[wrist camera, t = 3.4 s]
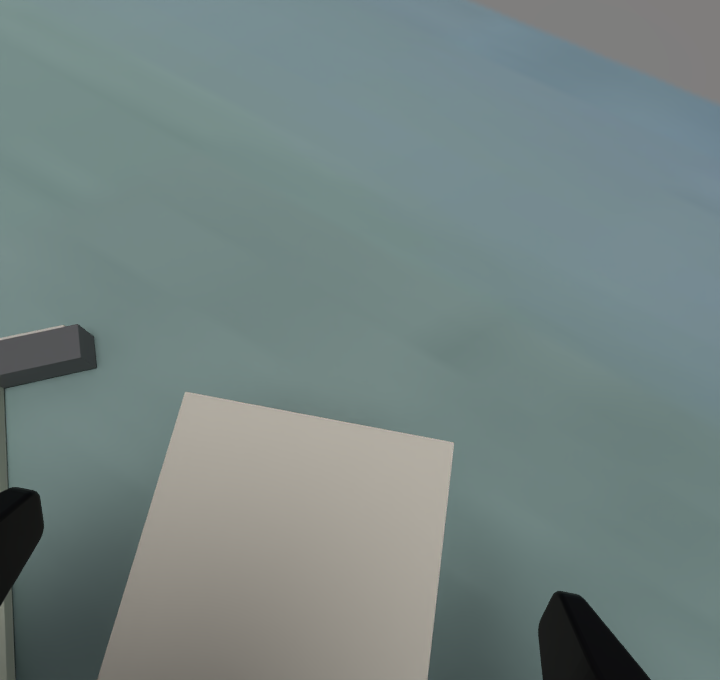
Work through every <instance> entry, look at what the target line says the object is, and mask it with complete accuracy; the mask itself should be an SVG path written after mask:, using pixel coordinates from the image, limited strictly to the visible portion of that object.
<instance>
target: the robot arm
mask: <svg viewBox="0 0 720 680" xmlns="http://www.w3.org/2000/svg"><path fill="white" fill-rule="evenodd" d="M43 529H44V521H43V514H42V507H41V500H40V495H39V494H38V493H37V492H36V491H34V490H29V489H24V488H19V487H12V488H9V489H6V490H4V491H2V492H0V606H1V604H2V603H3V601H4V599H5V598H6V596H7V594H8V593H9V591H10V589H11V588H12V586H13V584H14V583H15V581H16V579H17V578H18V576H19V574H20V572H21V571H22V569H23V567H24V566H25V564H26V562H27V561H28V559H29V557H30V556H31V554H32V552H33V551H34V549H35V547H36V546H37V544H38V542H39V540H40V538H41V536H42V533H43ZM538 636H539V646H540V656H541V666H542V675H543V680H651V679H650V678H649V677H648V676H647V674H646V673H645V672H644V671H643V669H642V668H641V667H640V666H639V665H638V663H637V662H636V661H635V660H634V659H633V657H632V656H631V655H630V654H629V653H628V651H627V650H626V649H625V648H624V646H623V645H622V644H621V643H620V642H619V640H618V639H617V638H616V637H615V636H614V634H613V633H612V632H611V631H610V630H609V628H608V627H607V626H606V625H605V623H604V622H603V621H602V620H601V619H600V617H599V616H598V615H597V614H596V613H595V611H594V610H593V609H592V608H591V606H590V605H589V604H588V603H587V602H586V600H585V599H584V598H582V597H581V596H580V595H577V594H573V593H568V592H563V591H557V592H555V593H554V594H553V596H552V597H551V599H550V601H549V603H548V605H547V607H546V609H545V611H544V613H543V615H542V617H541V620H540V623H539V628H538Z"/></svg>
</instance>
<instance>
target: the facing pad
mask: <svg viewBox="0 0 720 680" xmlns="http://www.w3.org/2000/svg"><path fill="white" fill-rule="evenodd" d="M6 489H8V480H7V454H6V429H5V403H4V388H2V387H0V492H2V491H4V490H6ZM0 680H15V658H14V633H13V607H12V588H11V589H10V591H9V593H8V594H7V596H6V598H5V599H4V601H3V603H2V604H1V606H0Z"/></svg>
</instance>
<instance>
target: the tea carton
mask: <svg viewBox="0 0 720 680" xmlns="http://www.w3.org/2000/svg"><path fill="white" fill-rule="evenodd" d="M453 448H454V443H453V442H448V441H443V440H437V439H432V438H427V437H422V436H416V435H411V434H406V433H401V432H395V431H390V430H385V429H379V428H374V427H369V426H364V425H358V424H353V423H348V422H342V421H337V420H332V419H327V418H321V417H316V416H311V415H305V414H300V413H295V412H290V411H284V410H279V409H274V408H268V407H263V406H258V405H253V404H247V403H242V402H237V401H231V400H226V399H221V398H216V397H210V396H205V395H200V394H194V393H189V392H185V394H184V398H183V401H182V404H181V407H180V411H179V414H178V417H177V421H176V424H175V427H174V430H173V434H172V437H171V440H170V443H169V447H168V450H167V453H166V456H165V460H164V463H163V466H162V470H161V473H160V476H159V479H158V483H157V486H156V489H155V492H154V496H153V499H152V502H151V505H150V509H149V512H148V515H147V519H146V522H145V525H144V528H143V532H142V535H141V538H140V541H139V545H138V548H137V551H136V554H135V558H134V561H133V564H132V568H131V571H130V574H129V577H128V581H127V584H126V587H125V590H124V594H123V597H122V600H121V603H120V607H119V610H118V613H117V617H116V620H115V623H114V626H113V630H112V633H111V636H110V639H109V643H108V646H107V649H106V652H105V656H104V659H103V662H102V666H101V669H100V672H99V675H98V679H97V680H427V679H428V670H429V662H430V653H431V644H432V635H433V626H434V617H435V608H436V599H437V590H438V581H439V573H440V564H441V555H442V546H443V537H444V528H445V519H446V510H447V501H448V493H449V484H450V475H451V466H452V457H453Z"/></svg>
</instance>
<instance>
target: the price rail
mask: <svg viewBox="0 0 720 680" xmlns="http://www.w3.org/2000/svg"><path fill="white" fill-rule="evenodd" d="M93 368H97V366H96V356H95V347H94V337H93V336H92V335H91V334H90V333H89V332H87V331H86V330H85V329H83V328H82V327H81V326H80V325H78V324H76V325H71V326H65V325H61V326H56V327H51V328H47V329H42V330H37V331H32V332H27V333H23V334H18V335H13V336H8V337H3V338H0V387H2V388H7V387H12V386H17V385H21V384H26V383H30V382H35V381H39V380H44V379H48V378H53V377H57V376H62V375H66V374H71V373H75V372H80V371H84V370H89V369H93Z"/></svg>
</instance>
